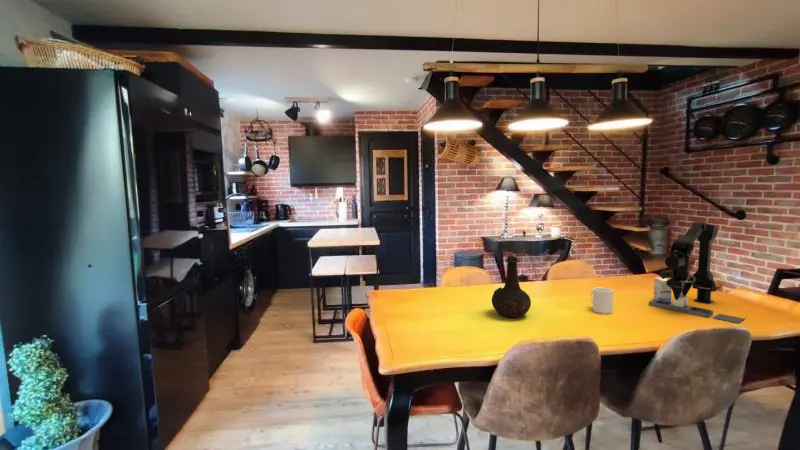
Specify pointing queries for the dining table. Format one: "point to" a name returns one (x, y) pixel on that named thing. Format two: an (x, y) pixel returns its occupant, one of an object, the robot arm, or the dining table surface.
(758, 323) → the dining table surface
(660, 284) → the ink box
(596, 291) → the mug
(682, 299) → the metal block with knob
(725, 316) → the mat
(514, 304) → the glass bottle
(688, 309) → the grey metal frame
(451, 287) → the dining table surface
